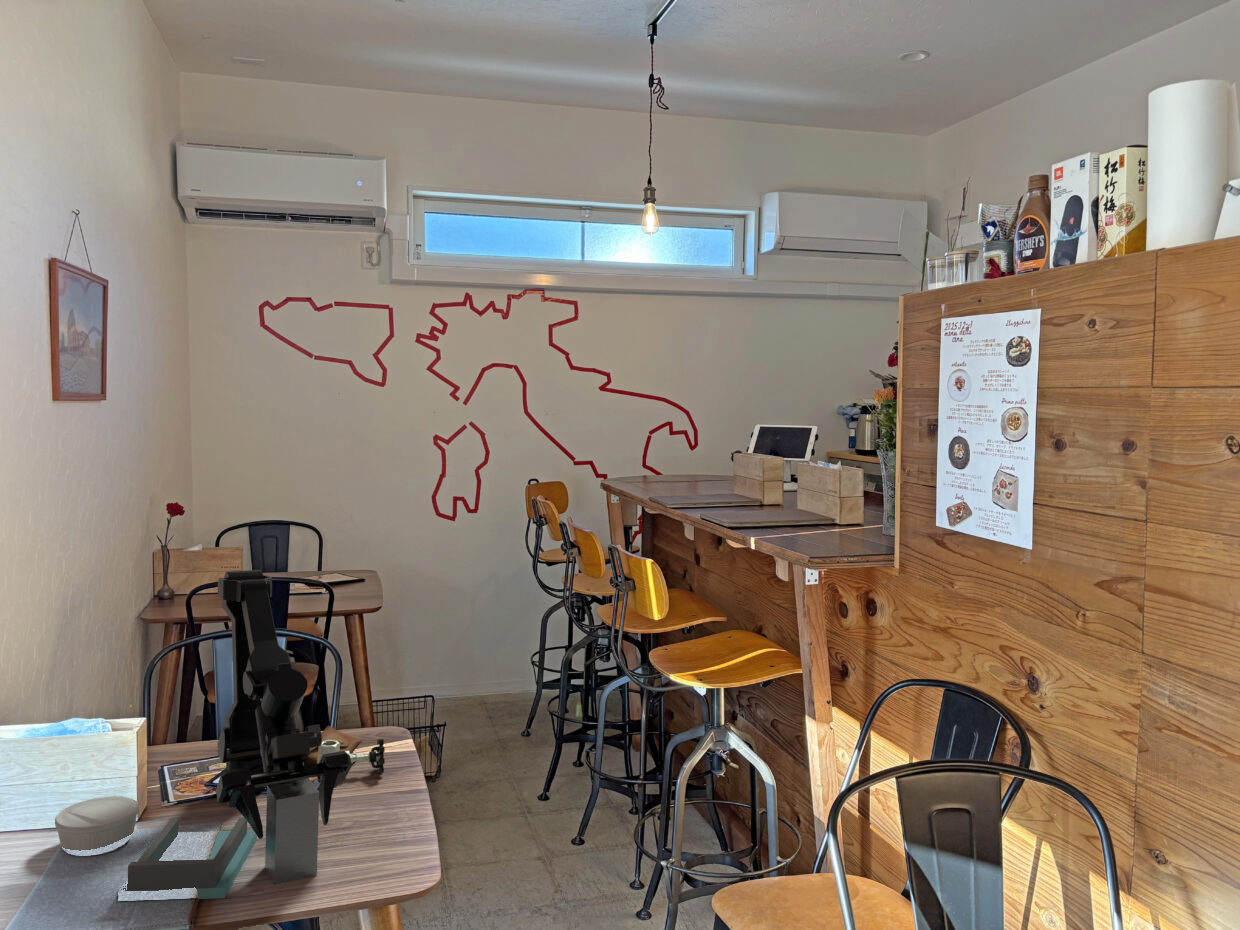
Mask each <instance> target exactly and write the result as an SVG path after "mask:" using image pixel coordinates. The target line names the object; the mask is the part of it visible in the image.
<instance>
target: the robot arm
mask: <svg viewBox="0 0 1240 930" xmlns="http://www.w3.org/2000/svg"><path fill="white" fill-rule="evenodd" d="M217 594H218V597H219V598H220V599H221V600H220V601H221V607H222V609H223V610H224V612H225V613H226V615H227V616H228V617H229V619H230V621H231V639H232V641H231V644H232V645H231V646H232V678H233V680H232V686H233V702H232V704H231V706H230V707H229V710H228V712H227V713H226V715H225V717H224V727H223V728H221V731H220V735H219V738H218V740H217V756H218V758H219V760H220V761H221V763H222V764H226V766H225V769H224V770H223V772H222V773H221V774H220V775H219V779H218V782H217V786H216V799H217V804H219V805H220V804H221V805H222V804H227V807H228V808H234V809H236V810H237V811H238V812H239V813H240V814H241V816H242V817H245V819H246V820H247V824H249V825H250V828H251V830H254V832H255V833H256V835H257V839H259V840H262V839H263V838H264V830H263V827H264V826H263V823H262V818H261V814H260V810H259V806H258V801H257V799H256V793H259V792H262V791H264V790H266V789H265V788H267V785H271V784H276V783H282V782H288V781H293V780H299V779H305V778H309V779H312V778H317V782H318V783H319V785H318V787H317V790H318V791H319V811H320V816H321V819H322V824H323V826H327V825H328V823H329V818H330V811H331V804H332V798H333V792H334V790H335V789H336V788H338V786H339V784H340V783H341V782H343V781H345V780H346V778H347V776H348V773H349V772H350V771H351V768H352V766H353V765H352V764H353V763H351V758H350V755H349V754H348V753H347V752H345V751H340V752H334V753H328V754H323V756H322V758H321V760H320V762H319V763H317V764H311V765H305V766H304V761H307V759H308V754H309V753H311V752H310V748H314V747H319V746H321V745H322V735H321V733H322V731H321V727H320V724H314V725H313V724H312V725H308V726H305V727H304V731H300V728H298V723H297V719H296V714H298V712H299V710H300V707H301V705H302V703H303V700H304V698H305V695H306V692H307V691H308V690H307V689H308V679H307V678H306V677H305V676H304V674H303V673H301V672H300V671H298V670H297V669H296V667H295V666H293V665H292V662H291V657H290V654H289V653H288V652H287V651H286V650H285V649H284V648H282V647H281V646H280V644H279V641H278V635H277V631H276V625H275V622H274V615H273V611H272V610H273V609H272V604H271V601H270V598H271V597H273V576H270V575H265V574H264V572H263V570H262V569H252V570H250V569H249V570H236V571H235V570H233V571H231V570H230V571H225V572H224V576H223V577H219V578H218V580H217ZM307 753H308V754H307ZM263 789H264V790H263Z"/></svg>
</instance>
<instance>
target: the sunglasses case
mask: <svg viewBox="0 0 1240 930" xmlns="http://www.w3.org/2000/svg"><path fill="white" fill-rule="evenodd" d="M321 735H322V742H323V741H326V740H335V741H338V742H339V743H340V751H349V754H353V753H354V752H353V751H355V750H356V749H357V747H358V746H359V745H360V744H361V743H362V742H361V741H363V740H362V739H359V738H357V737H354V736H351V735H350V734H348V733H344V732H342V731H339V730H336V729H335V728H334V727H332V726H331V725H327V726H326V727H325V728H324V729H323V731H321ZM360 742H361V743H360ZM359 743H360V744H359ZM355 748H356V749H355ZM318 749H319V747H314V748H310V752H311V753H309V754H308V753H307V754H308V759H307V761H304V766H305V765H311V764H317V758H318V755H319V754H320V753H318ZM340 751H339V752H340Z"/></svg>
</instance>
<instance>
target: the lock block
mask: <svg viewBox="0 0 1240 930" xmlns="http://www.w3.org/2000/svg"><path fill="white" fill-rule="evenodd" d="M314 784H315V783H313V782H312V780H311V778H305V779H299V780H293V781H288V782H282V783H276V784H271V785H267V789H266V813H265V814H266V817H265V822H266V823H265V850H264V851H265V855H264V856H265V857H264V868H265V870H266V871H267V875H268V876H269V877H270V880H271V881H272V885H274V886H277V885H282V884H287V883H289V882H294V881H298V880H303V879H306V878H310V877H315V876H318V851H319V849H318V846H319V811H320V803H319V791H318V787H316V786H315V785H314Z"/></svg>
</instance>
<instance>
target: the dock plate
mask: <svg viewBox="0 0 1240 930" xmlns="http://www.w3.org/2000/svg"><path fill="white" fill-rule="evenodd" d="M179 822H180V819H179V818H171V819H169V821H168V822H167V823H166V824H165V825H164V827H163V828H162V829H161V831H160V832H159V833H158V834H157V836H156V837H155V838H154V840H152V842H151V843H150V845H149V846H148V847H147V848H146V849H145V851H144V852H142V854H141V856H140V857H139V858H138V859H137V861H130V863H128V865H127V878H128V884H127V890H126V888H123V890H124V889H125V891H159V890H169V889H170V890H172V889H182V888H194V887H195V888H196V889H197V891H198V899H197V900H210V899H211V900H213V899H226V896H227V895H228V893H229V891H230V889H231V887H232V886H233V884H234V882H235V880H236V878H237V876H238V874H239V873H240V871H241V869H242V868H243V866H244V865H245V862H246V861H247V859H248V856H249V855H250V853H251V851H252V849H253V848H254V845H255V843H256V842H257V839H258V836H257V835H256V833H255V832H254V830H253V829H248V821H247V820H246V819H245V817H244V816H242V817H241V816H240V817H239V818H238V819H237V821H236V822H235V824H234V825H233V827H232V829H231V830H218V831H219V833H218V835H217V838H216V840H215V844H214V847H213V850H212V851H211V856H210V857H209V859H206V860H173V861H159V859H160V858H161V857H162V855H163V853H164V852H165V851H166V849H167V848H168V847H169V846H170V845H171V843H172V842H173V841H174V839H175V838H176V837H177V835H178V832H180V831H179V826H180V825H179ZM125 884H126V883H125ZM123 887H124V886H123ZM125 887H126V886H125ZM119 888H121V886H120V887H119ZM121 890H122V889H121ZM117 891H119V889H117Z"/></svg>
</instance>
